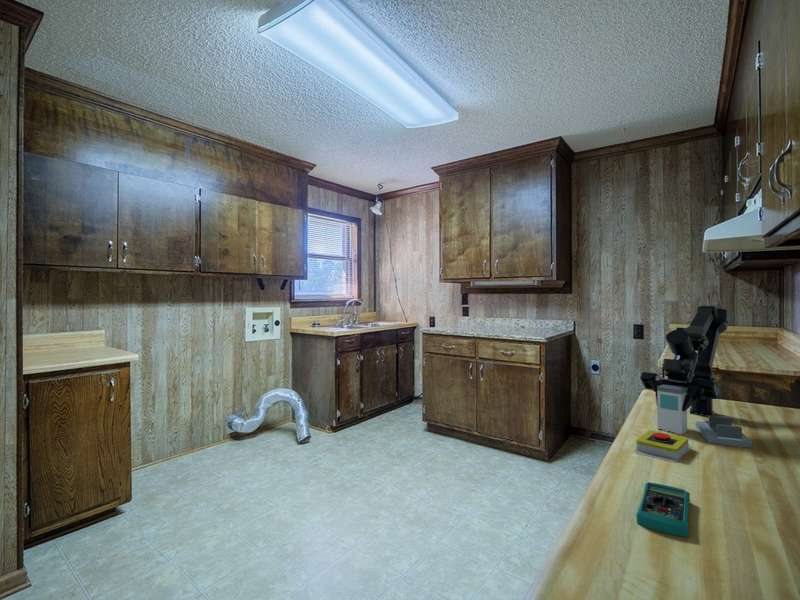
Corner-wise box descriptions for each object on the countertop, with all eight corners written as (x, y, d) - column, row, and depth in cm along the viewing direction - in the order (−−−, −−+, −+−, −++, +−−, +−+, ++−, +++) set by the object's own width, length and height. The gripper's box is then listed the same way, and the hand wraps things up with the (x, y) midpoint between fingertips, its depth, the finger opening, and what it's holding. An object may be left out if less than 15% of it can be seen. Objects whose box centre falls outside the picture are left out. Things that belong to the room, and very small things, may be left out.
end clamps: (708, 425, 116) (708, 415, 116) (730, 427, 113) (730, 417, 113) (717, 436, 107) (717, 425, 107) (742, 439, 105) (741, 427, 105)
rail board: (696, 426, 121) (696, 421, 121) (734, 430, 117) (734, 424, 117) (708, 442, 108) (708, 437, 108) (752, 447, 104) (752, 441, 104)
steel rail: (704, 421, 120) (704, 420, 120) (725, 424, 118) (725, 422, 118) (717, 438, 107) (717, 436, 107) (742, 440, 105) (742, 439, 104)
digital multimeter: (636, 528, 70) (635, 511, 70) (645, 493, 82) (645, 479, 82) (688, 542, 66) (688, 524, 66) (689, 504, 78) (689, 488, 78)
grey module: (663, 426, 122) (663, 384, 122) (687, 431, 117) (686, 387, 117) (657, 429, 119) (657, 386, 119) (681, 434, 114) (680, 390, 114)
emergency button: (632, 436, 102) (651, 423, 112) (632, 454, 102) (651, 439, 112) (675, 446, 95) (692, 431, 105) (676, 465, 95) (692, 448, 105)
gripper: (642, 345, 128) (626, 386, 121) (715, 351, 113) (702, 397, 106) (652, 367, 132) (638, 407, 126) (723, 376, 118) (712, 421, 111)
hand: (670, 408), depth 117 cm, fingers closed on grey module, 6 cm apart
